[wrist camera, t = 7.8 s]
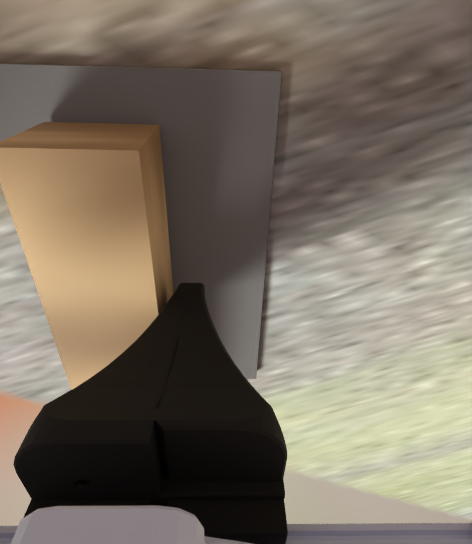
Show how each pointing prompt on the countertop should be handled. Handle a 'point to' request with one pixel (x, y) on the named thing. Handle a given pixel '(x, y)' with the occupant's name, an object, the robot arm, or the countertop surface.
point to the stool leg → (91, 233)
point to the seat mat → (183, 167)
